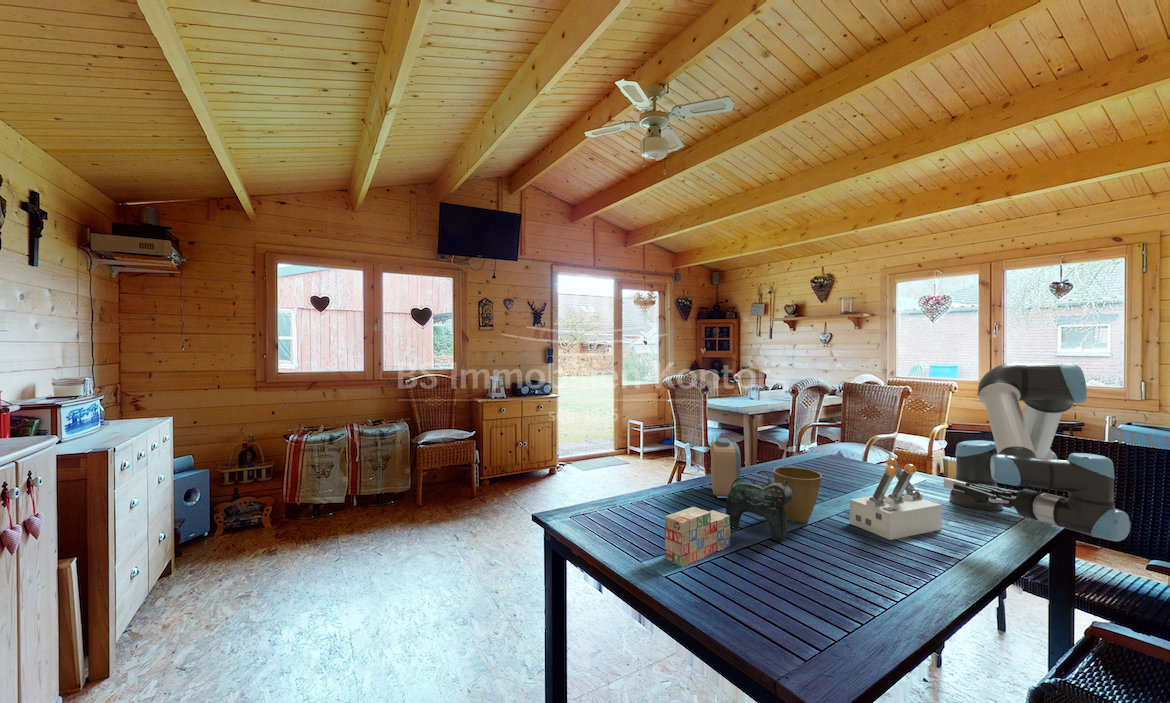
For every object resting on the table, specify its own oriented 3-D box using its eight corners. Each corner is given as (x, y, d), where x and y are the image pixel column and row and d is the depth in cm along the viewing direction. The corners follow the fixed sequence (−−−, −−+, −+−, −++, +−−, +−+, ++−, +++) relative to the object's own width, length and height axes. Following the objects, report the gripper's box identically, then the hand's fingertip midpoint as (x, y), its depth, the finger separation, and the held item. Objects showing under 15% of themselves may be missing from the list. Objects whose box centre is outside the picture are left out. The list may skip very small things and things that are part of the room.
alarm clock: (740, 503, 174) (740, 445, 174) (714, 501, 176) (714, 444, 176) (734, 487, 194) (734, 435, 194) (710, 486, 196) (711, 434, 196)
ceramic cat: (793, 539, 142) (793, 473, 141) (785, 545, 137) (785, 478, 137) (731, 522, 155) (731, 462, 155) (722, 528, 150) (722, 466, 150)
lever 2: (915, 499, 155) (889, 460, 164) (922, 495, 153) (895, 456, 162) (908, 500, 154) (882, 461, 163) (915, 496, 152) (888, 456, 160)
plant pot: (773, 523, 154) (773, 475, 154) (773, 509, 168) (773, 465, 167) (823, 530, 148) (823, 480, 148) (819, 514, 162) (819, 469, 162)
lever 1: (874, 498, 151) (892, 463, 145) (882, 505, 148) (901, 470, 142) (866, 500, 150) (884, 464, 144) (875, 507, 147) (893, 471, 141)
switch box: (898, 514, 162) (899, 487, 162) (941, 529, 149) (941, 499, 149) (848, 523, 154) (848, 494, 154) (889, 540, 141) (889, 508, 141)
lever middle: (893, 496, 154) (911, 461, 148) (901, 502, 151) (920, 467, 145) (885, 497, 153) (903, 462, 147) (894, 504, 150) (913, 468, 144)
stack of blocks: (713, 540, 141) (713, 499, 141) (730, 547, 136) (730, 505, 136) (664, 559, 128) (664, 515, 128) (681, 568, 123) (681, 522, 123)
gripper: (1025, 524, 121) (930, 496, 143) (1055, 517, 125) (959, 492, 147) (1025, 495, 120) (930, 472, 143) (1055, 489, 125) (959, 468, 147)
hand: (945, 482), depth 145 cm, fingers closed
